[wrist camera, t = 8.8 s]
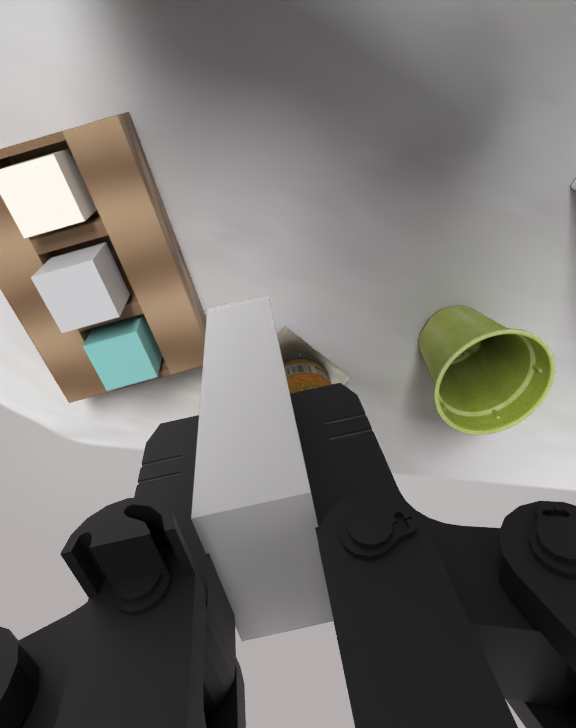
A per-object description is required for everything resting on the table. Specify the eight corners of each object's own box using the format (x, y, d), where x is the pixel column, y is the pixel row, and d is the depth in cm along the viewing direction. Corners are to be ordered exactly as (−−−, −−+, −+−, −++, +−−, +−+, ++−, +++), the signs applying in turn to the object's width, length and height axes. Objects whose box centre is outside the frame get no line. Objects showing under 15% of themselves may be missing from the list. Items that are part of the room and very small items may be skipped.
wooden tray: (-40, 161, 33) (-71, 170, 29) (128, 112, 32) (117, 114, 29) (81, 376, 42) (69, 402, 38) (214, 340, 41) (213, 362, 38)
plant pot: (414, 393, 47) (450, 451, 39) (387, 313, 42) (422, 362, 35) (506, 355, 46) (561, 407, 38) (488, 269, 41) (547, 310, 34)
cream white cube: (14, 163, 32) (-12, 173, 28) (72, 147, 31) (53, 154, 28) (44, 223, 34) (24, 238, 30) (99, 207, 33) (84, 221, 30)
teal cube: (95, 322, 38) (82, 346, 34) (144, 309, 37) (136, 331, 34) (117, 365, 40) (106, 391, 36) (163, 352, 40) (157, 377, 36)
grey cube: (50, 257, 33) (30, 277, 30) (106, 242, 33) (92, 259, 29) (77, 309, 35) (61, 333, 32) (129, 294, 35) (119, 317, 31)
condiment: (298, 426, 47) (319, 521, 37) (231, 381, 44) (233, 471, 33) (350, 376, 45) (388, 462, 35) (284, 324, 42) (304, 402, 31)
